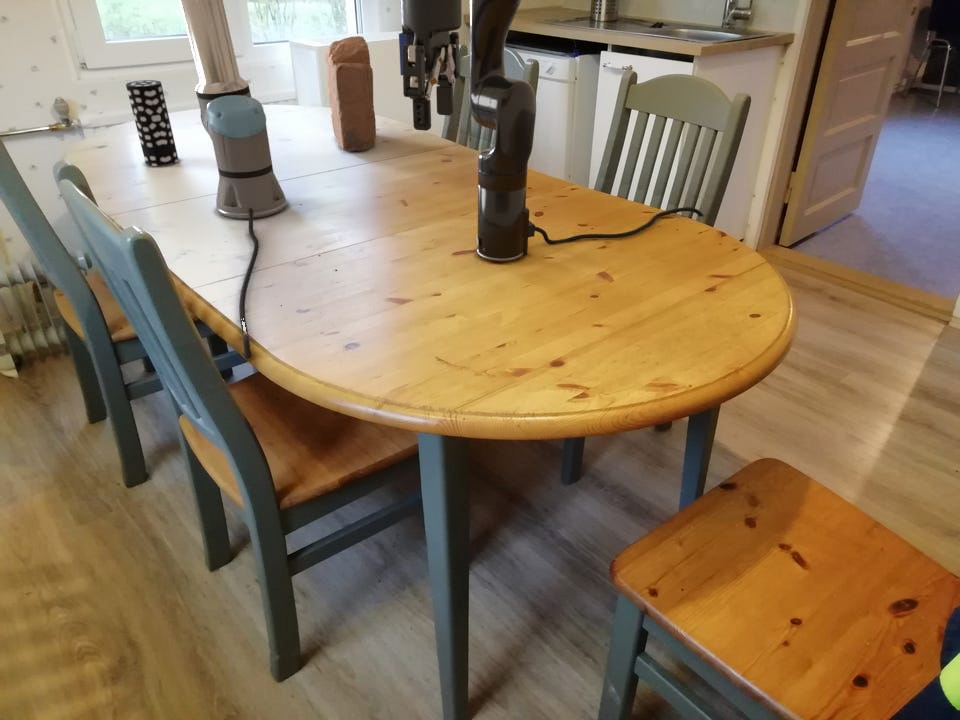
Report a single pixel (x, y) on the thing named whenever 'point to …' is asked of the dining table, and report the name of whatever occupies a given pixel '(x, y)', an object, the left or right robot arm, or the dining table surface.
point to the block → (401, 42)
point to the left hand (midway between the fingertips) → (417, 61)
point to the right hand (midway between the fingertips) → (434, 121)
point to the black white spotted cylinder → (152, 122)
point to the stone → (351, 93)
